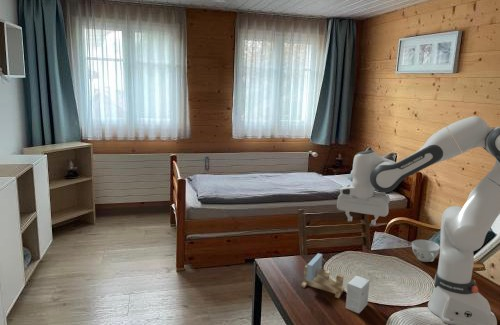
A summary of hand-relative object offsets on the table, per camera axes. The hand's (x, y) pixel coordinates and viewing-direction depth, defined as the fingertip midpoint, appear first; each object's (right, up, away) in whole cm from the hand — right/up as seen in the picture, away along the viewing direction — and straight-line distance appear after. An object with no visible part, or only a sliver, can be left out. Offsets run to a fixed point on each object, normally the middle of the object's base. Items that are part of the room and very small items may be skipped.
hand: (361, 222), depth 154 cm
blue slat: (-19, -22, +2) cm, 29 cm away
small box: (-5, -30, -11) cm, 33 cm away
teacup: (+39, -23, +28) cm, 53 cm away
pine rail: (-16, -27, +1) cm, 32 cm away
